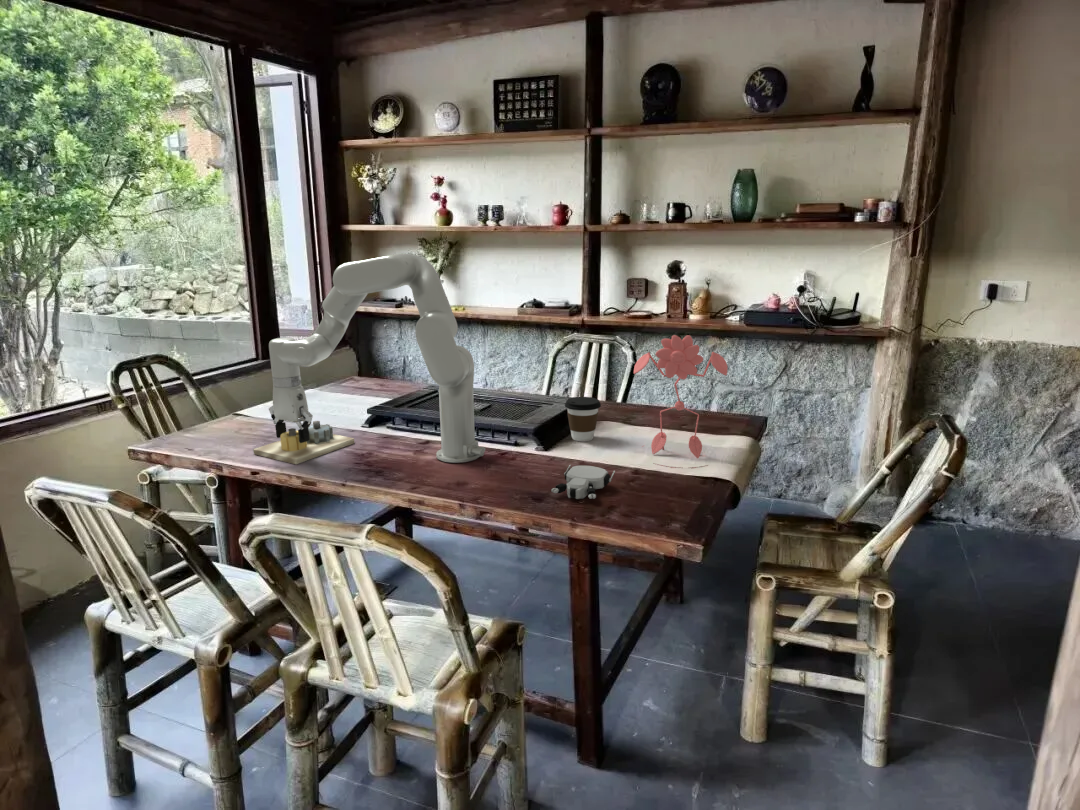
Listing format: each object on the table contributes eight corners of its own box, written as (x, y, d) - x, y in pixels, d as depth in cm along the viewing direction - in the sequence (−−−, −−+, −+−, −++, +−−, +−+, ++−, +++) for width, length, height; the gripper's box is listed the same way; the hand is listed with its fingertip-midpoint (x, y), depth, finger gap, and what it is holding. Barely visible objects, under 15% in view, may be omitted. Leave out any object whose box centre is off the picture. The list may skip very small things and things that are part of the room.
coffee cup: (580, 446, 206) (580, 407, 203) (557, 437, 214) (557, 399, 211) (607, 439, 212) (608, 401, 209) (584, 431, 221) (585, 394, 218)
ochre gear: (311, 445, 204) (310, 432, 203) (292, 452, 198) (291, 438, 197) (296, 442, 207) (294, 429, 206) (277, 448, 202) (275, 435, 201)
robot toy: (596, 509, 163) (616, 483, 176) (596, 492, 162) (616, 467, 175) (548, 502, 168) (570, 477, 181) (547, 485, 167) (570, 461, 180)
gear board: (354, 443, 211) (352, 420, 209) (296, 464, 193) (293, 440, 191) (313, 434, 220) (311, 413, 218) (253, 454, 202) (251, 431, 200)
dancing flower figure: (635, 445, 206) (638, 328, 196) (724, 455, 197) (732, 333, 187) (621, 463, 192) (624, 338, 182) (717, 474, 183) (724, 343, 173)
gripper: (318, 382, 196) (323, 440, 201) (277, 376, 205) (283, 431, 209) (297, 387, 190) (303, 447, 195) (255, 381, 199) (262, 438, 203)
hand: (293, 439), depth 202 cm, fingers open, 9 cm apart
